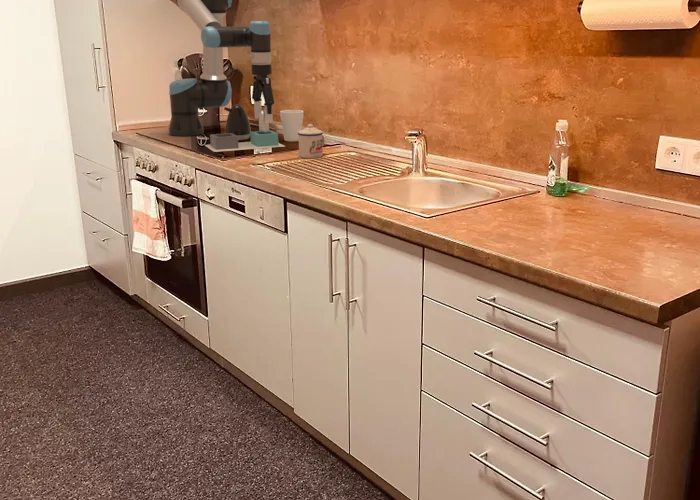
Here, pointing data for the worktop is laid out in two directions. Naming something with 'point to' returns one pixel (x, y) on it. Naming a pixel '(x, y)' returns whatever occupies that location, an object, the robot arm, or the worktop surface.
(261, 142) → the socket
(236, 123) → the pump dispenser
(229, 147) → the mount board
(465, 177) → the worktop surface
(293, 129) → the foam cup
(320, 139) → the teacup with lid
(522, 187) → the worktop surface
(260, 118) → the lock pin
